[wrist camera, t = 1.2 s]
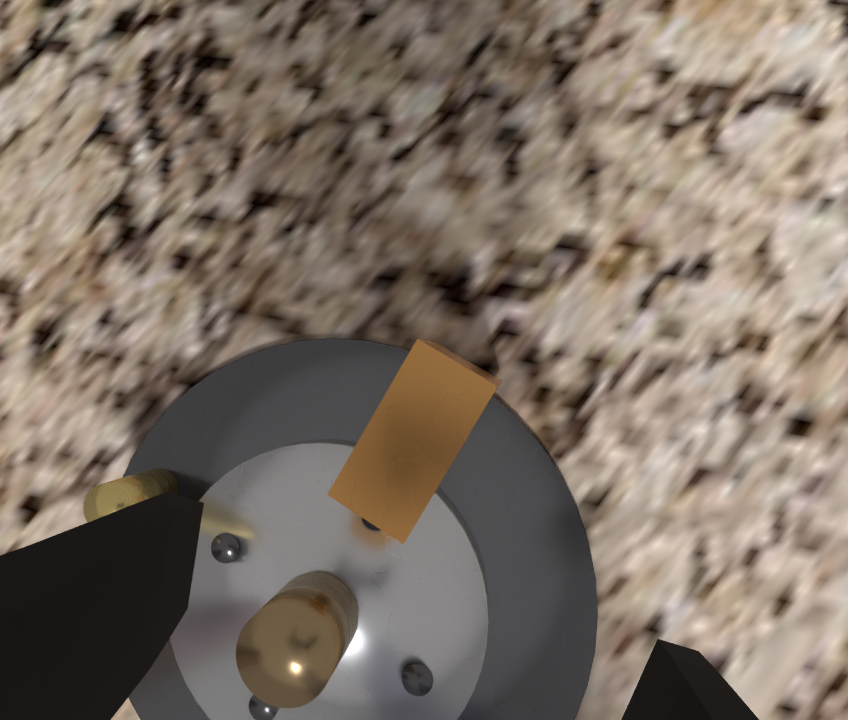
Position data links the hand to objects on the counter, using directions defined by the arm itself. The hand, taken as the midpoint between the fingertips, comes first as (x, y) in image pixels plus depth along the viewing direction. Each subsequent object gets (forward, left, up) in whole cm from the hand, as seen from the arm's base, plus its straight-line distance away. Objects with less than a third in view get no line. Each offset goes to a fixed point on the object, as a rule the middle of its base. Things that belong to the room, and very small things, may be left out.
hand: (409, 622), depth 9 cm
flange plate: (+2, +4, -11) cm, 12 cm away
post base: (+2, +6, -11) cm, 13 cm away
